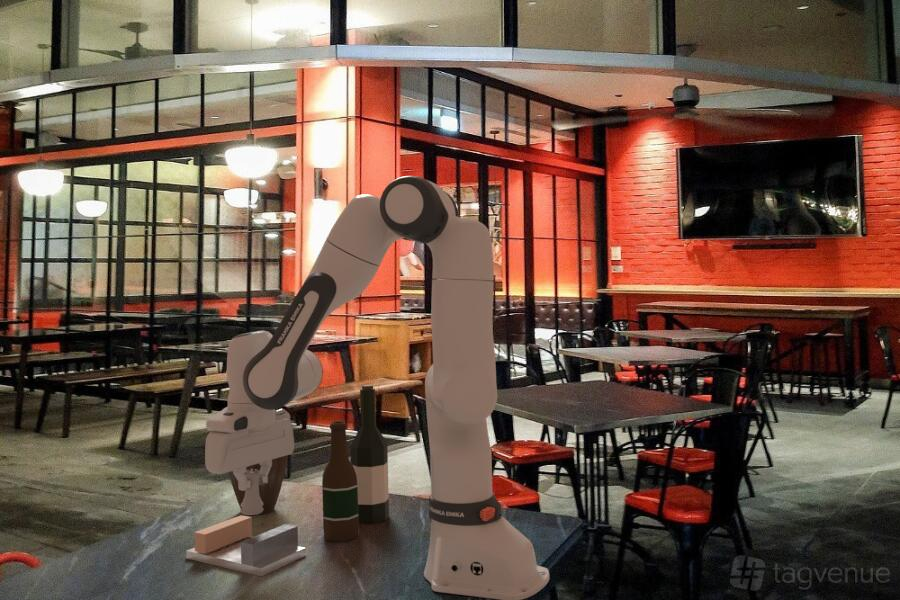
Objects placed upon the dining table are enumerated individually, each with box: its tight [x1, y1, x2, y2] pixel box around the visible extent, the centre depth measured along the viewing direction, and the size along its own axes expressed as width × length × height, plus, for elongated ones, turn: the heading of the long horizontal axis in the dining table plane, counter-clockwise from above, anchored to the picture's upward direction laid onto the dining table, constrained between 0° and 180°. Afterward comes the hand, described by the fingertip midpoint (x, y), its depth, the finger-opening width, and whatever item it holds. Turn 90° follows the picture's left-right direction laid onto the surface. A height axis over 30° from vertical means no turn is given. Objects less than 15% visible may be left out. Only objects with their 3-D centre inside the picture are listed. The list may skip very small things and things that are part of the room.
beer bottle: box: [321, 420, 360, 543], centre depth 157 cm, size 8×8×24 cm
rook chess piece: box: [239, 469, 264, 516], centre depth 145 cm, size 4×4×8 cm
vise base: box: [185, 523, 307, 577], centre depth 146 cm, size 20×12×6 cm, turn 59°
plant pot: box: [228, 455, 289, 516], centre depth 177 cm, size 15×15×16 cm
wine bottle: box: [349, 384, 390, 525], centre depth 169 cm, size 8×8×30 cm
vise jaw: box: [194, 514, 253, 554], centre depth 149 cm, size 3×12×4 cm, turn 149°
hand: (253, 486), depth 145 cm, fingers closed on rook chess piece, 3 cm apart
